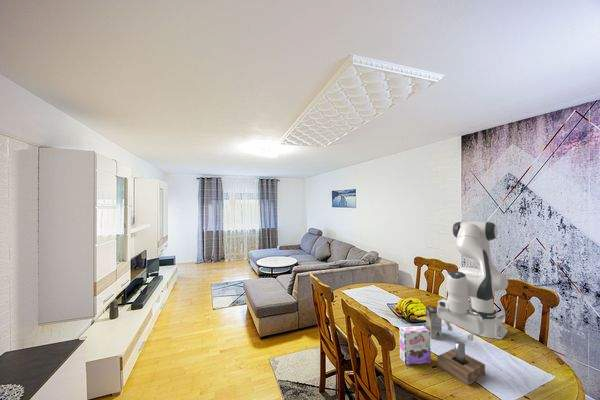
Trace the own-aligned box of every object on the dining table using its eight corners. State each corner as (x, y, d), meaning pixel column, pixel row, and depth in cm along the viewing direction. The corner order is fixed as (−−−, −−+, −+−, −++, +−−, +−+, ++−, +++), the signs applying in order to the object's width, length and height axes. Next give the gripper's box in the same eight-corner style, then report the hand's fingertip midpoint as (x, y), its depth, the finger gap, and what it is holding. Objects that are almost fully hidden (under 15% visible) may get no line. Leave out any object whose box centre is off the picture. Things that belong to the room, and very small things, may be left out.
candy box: (405, 365, 117) (404, 332, 118) (399, 358, 123) (398, 326, 124) (431, 363, 118) (430, 330, 119) (424, 356, 124) (423, 325, 125)
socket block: (454, 358, 122) (454, 348, 122) (485, 375, 110) (485, 364, 110) (437, 366, 116) (437, 356, 116) (467, 385, 104) (467, 374, 104)
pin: (458, 364, 116) (457, 340, 116) (467, 369, 112) (466, 344, 112) (453, 367, 114) (453, 342, 114) (462, 372, 110) (461, 346, 111)
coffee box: (426, 330, 149) (425, 305, 150) (436, 331, 148) (436, 306, 148) (431, 338, 140) (430, 311, 141) (442, 339, 139) (441, 312, 139)
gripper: (486, 313, 106) (488, 344, 106) (442, 297, 124) (443, 323, 124) (478, 316, 103) (480, 348, 103) (434, 300, 121) (435, 327, 121)
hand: (459, 334), depth 114 cm, fingers open, 8 cm apart
